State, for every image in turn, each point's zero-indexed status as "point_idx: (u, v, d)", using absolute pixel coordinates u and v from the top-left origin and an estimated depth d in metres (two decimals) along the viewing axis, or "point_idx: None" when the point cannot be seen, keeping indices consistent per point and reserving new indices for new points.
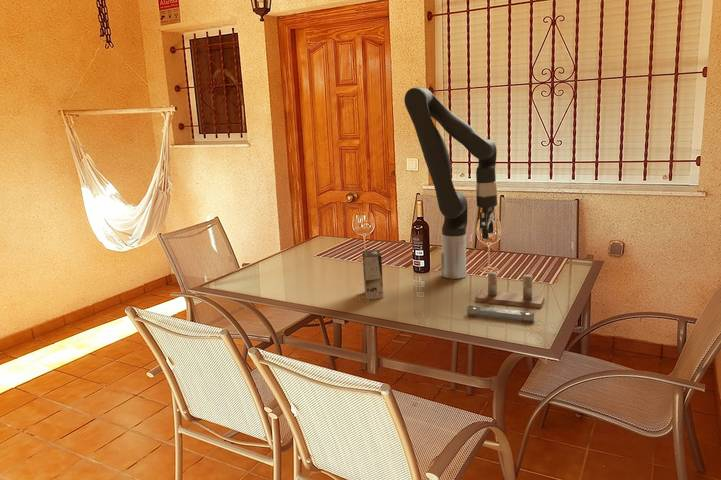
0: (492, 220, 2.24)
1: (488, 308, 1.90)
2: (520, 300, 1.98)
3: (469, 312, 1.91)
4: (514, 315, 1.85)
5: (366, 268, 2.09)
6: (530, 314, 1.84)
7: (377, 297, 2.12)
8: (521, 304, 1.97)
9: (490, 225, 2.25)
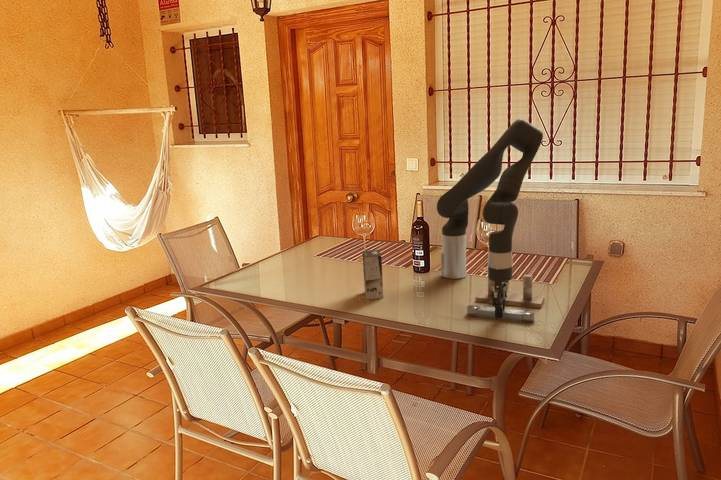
0: (504, 297, 1.88)
1: (488, 308, 1.90)
2: (520, 300, 1.98)
3: (469, 312, 1.91)
4: (514, 315, 1.85)
5: (366, 268, 2.09)
6: (530, 314, 1.84)
7: (377, 297, 2.12)
8: (521, 304, 1.97)
9: None
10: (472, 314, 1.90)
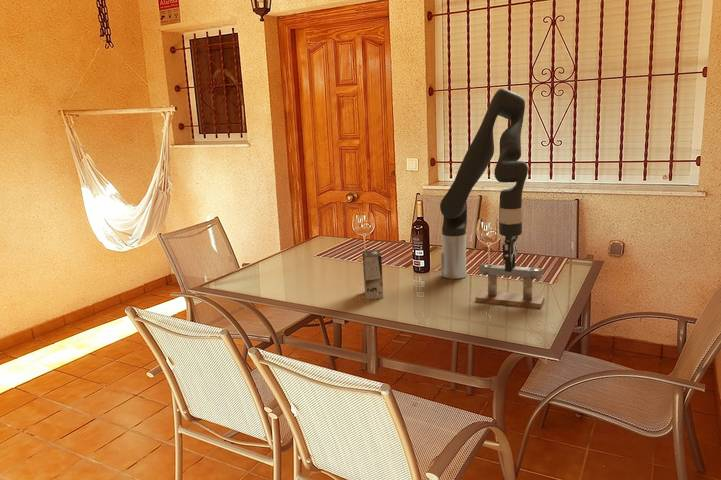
0: (514, 251, 2.00)
1: (499, 266, 2.02)
2: (520, 300, 1.98)
3: (481, 270, 2.02)
4: (523, 272, 1.96)
5: (366, 268, 2.09)
6: (539, 270, 1.95)
7: (377, 297, 2.12)
8: (521, 304, 1.97)
9: (512, 258, 2.01)
10: (484, 272, 2.02)
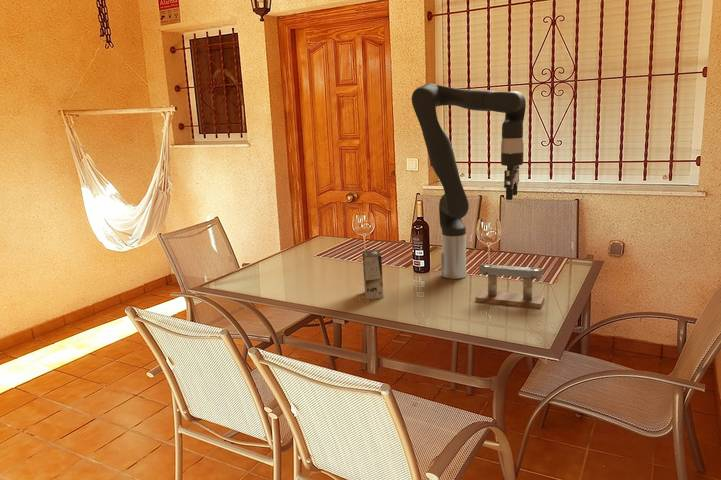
0: (516, 181, 2.07)
1: (499, 266, 2.02)
2: (520, 300, 1.98)
3: (481, 270, 2.02)
4: (523, 272, 1.96)
5: (366, 268, 2.09)
6: (539, 270, 1.95)
7: (377, 297, 2.12)
8: (521, 304, 1.97)
9: (514, 186, 2.08)
10: (484, 272, 2.02)
